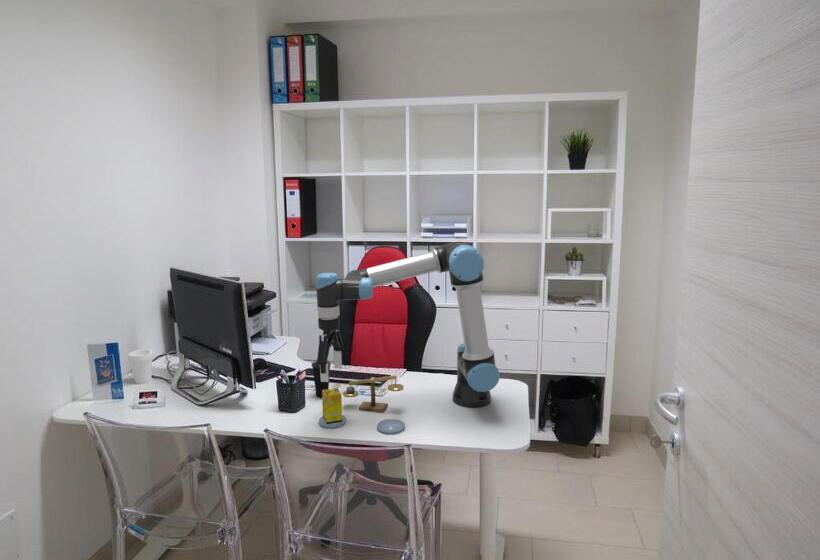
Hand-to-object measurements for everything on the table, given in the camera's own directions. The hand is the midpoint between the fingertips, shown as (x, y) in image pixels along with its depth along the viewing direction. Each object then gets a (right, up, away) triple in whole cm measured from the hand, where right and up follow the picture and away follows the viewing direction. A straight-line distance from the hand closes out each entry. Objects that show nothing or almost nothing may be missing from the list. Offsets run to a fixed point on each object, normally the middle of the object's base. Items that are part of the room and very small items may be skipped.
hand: (331, 374), depth 207 cm
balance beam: (+14, -11, +15) cm, 23 cm away
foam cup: (-88, -11, +46) cm, 100 cm away
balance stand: (+14, -16, +16) cm, 26 cm away
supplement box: (0, -17, +3) cm, 17 cm away
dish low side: (0, -18, +4) cm, 18 cm away
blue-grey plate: (+21, -19, -1) cm, 28 cm away
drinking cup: (-8, -13, +28) cm, 32 cm away
